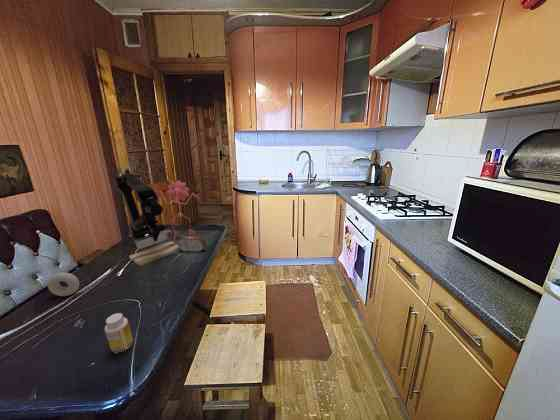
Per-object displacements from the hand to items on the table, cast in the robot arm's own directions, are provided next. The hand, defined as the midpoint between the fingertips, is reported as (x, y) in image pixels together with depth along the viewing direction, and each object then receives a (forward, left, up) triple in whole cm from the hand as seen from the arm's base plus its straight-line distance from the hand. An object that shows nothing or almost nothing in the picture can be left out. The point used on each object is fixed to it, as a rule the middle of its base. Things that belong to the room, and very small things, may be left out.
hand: (154, 240), depth 123 cm
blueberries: (+30, -39, -8) cm, 50 cm away
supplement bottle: (+51, -34, -8) cm, 62 cm away
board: (0, 0, -8) cm, 8 cm away
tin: (+13, +13, -8) cm, 20 cm away
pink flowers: (-9, +22, -8) cm, 25 cm away
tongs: (0, +1, -1) cm, 2 cm away
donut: (+6, -38, -8) cm, 39 cm away
